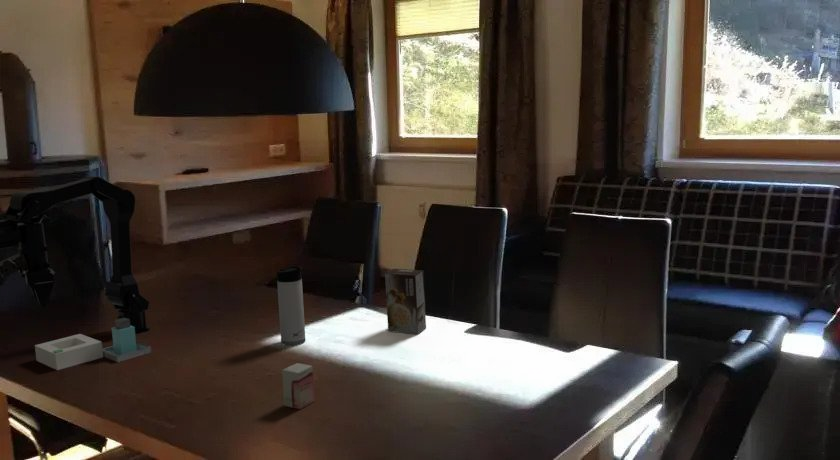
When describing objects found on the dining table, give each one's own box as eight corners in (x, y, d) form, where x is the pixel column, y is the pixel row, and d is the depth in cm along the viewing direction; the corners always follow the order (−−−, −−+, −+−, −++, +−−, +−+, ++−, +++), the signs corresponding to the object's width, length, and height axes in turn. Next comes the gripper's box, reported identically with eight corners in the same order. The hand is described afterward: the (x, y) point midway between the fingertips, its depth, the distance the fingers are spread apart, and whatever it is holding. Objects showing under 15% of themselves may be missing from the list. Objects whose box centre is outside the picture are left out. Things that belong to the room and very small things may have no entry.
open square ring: (133, 345, 202) (132, 340, 202) (151, 352, 196) (150, 346, 196) (99, 355, 195) (99, 349, 195) (117, 362, 190) (117, 356, 189)
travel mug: (301, 346, 197) (297, 269, 194) (277, 345, 199) (272, 269, 195) (310, 338, 203) (305, 264, 200) (286, 338, 205) (281, 264, 201)
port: (81, 348, 201) (80, 332, 201) (103, 357, 194) (101, 340, 193) (36, 360, 193) (34, 344, 192) (57, 370, 185) (55, 353, 185)
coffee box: (427, 327, 210) (425, 270, 207) (418, 334, 204) (416, 275, 201) (396, 325, 213) (394, 268, 210) (386, 331, 207) (384, 273, 204)
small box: (300, 410, 157) (297, 373, 156) (283, 406, 159) (281, 369, 158) (315, 401, 161) (313, 365, 160) (299, 397, 163) (297, 362, 162)
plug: (129, 350, 199) (125, 316, 197) (137, 353, 196) (133, 319, 194) (114, 354, 196) (110, 320, 194) (122, 357, 193) (118, 322, 192)
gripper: (-9, 242, 193) (0, 302, 196) (-1, 253, 178) (8, 319, 181) (40, 235, 199) (48, 294, 202) (52, 246, 184) (60, 310, 187)
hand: (40, 304), depth 193 cm, fingers open, 9 cm apart
